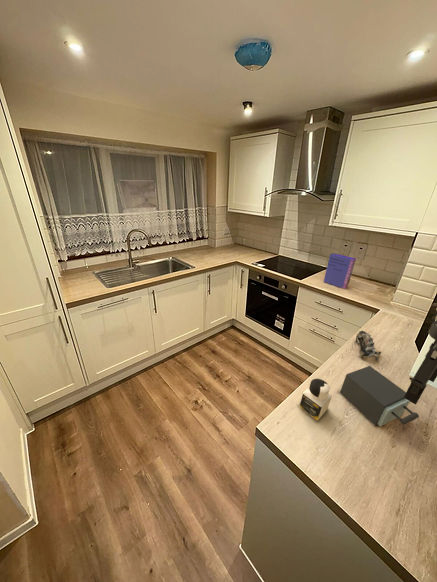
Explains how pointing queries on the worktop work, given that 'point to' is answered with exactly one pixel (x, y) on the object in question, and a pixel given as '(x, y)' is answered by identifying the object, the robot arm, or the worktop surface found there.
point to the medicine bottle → (316, 398)
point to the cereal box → (339, 270)
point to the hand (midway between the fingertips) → (419, 389)
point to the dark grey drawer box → (370, 392)
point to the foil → (366, 345)
